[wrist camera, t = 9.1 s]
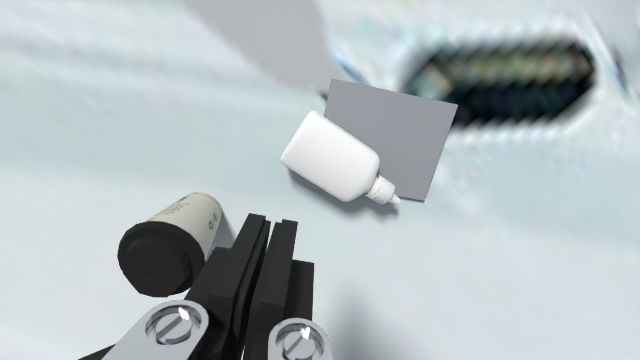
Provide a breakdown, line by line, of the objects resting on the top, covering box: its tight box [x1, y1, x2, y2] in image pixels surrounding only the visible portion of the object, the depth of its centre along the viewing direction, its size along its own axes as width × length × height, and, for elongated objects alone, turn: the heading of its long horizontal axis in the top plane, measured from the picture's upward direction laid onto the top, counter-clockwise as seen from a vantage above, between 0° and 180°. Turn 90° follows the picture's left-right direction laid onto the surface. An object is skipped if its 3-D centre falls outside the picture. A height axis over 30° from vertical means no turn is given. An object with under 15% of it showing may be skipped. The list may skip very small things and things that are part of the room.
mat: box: [324, 79, 458, 201], centre depth 30 cm, size 12×10×1 cm
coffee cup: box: [117, 192, 222, 297], centre depth 28 cm, size 7×7×10 cm
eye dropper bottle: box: [280, 111, 400, 205], centre depth 29 cm, size 4×6×12 cm
